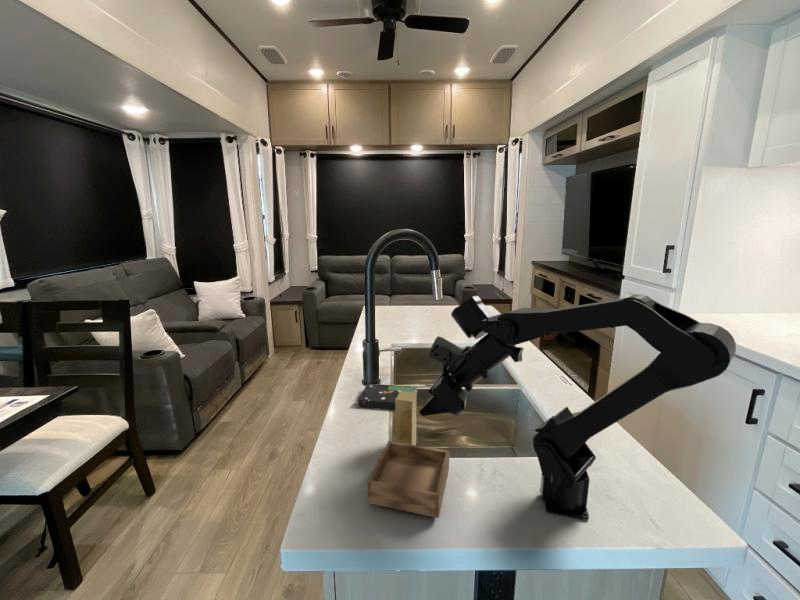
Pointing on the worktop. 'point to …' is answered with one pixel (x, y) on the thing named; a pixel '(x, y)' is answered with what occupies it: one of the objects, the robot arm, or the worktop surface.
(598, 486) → the worktop surface
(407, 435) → the brass bar
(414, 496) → the wooden storage tray
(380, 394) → the disk drive
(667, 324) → the robot arm
